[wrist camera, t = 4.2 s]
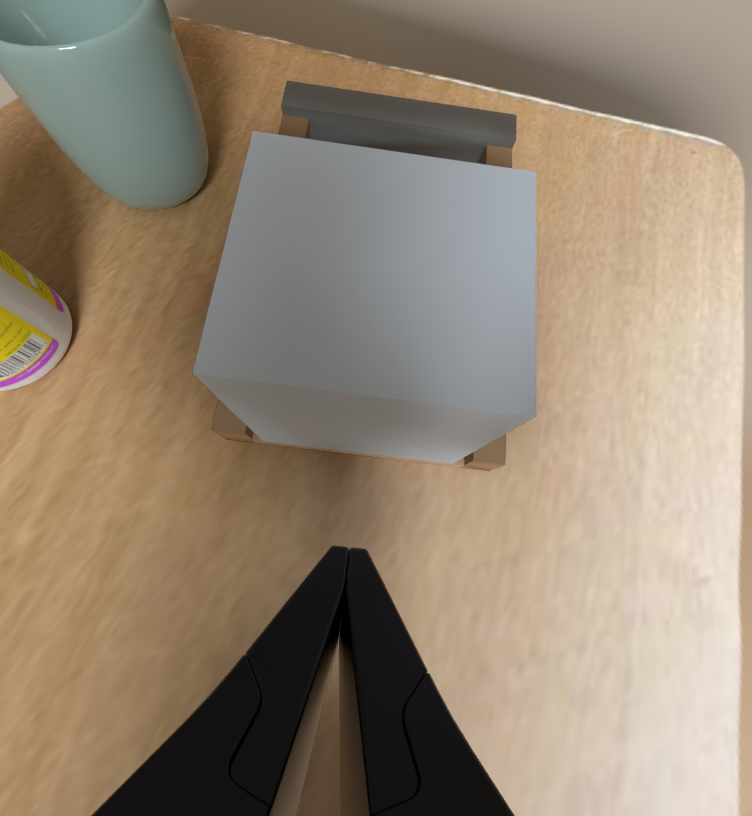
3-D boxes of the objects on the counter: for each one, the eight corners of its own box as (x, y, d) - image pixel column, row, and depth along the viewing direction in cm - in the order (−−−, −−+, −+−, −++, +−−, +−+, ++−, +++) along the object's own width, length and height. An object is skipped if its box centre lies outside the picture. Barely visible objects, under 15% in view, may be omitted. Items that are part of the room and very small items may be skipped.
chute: (489, 470, 22) (509, 463, 20) (225, 439, 22) (207, 426, 19) (499, 156, 28) (516, 115, 26) (293, 126, 28) (286, 80, 25)
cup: (87, 146, 26) (-60, -68, 17) (207, 121, 28) (133, -92, 18) (110, 244, 25) (-41, 66, 15) (237, 213, 26) (172, 30, 16)
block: (452, 463, 22) (536, 416, 12) (262, 441, 21) (192, 373, 12) (461, 312, 24) (536, 171, 14) (291, 289, 24) (253, 130, 14)
